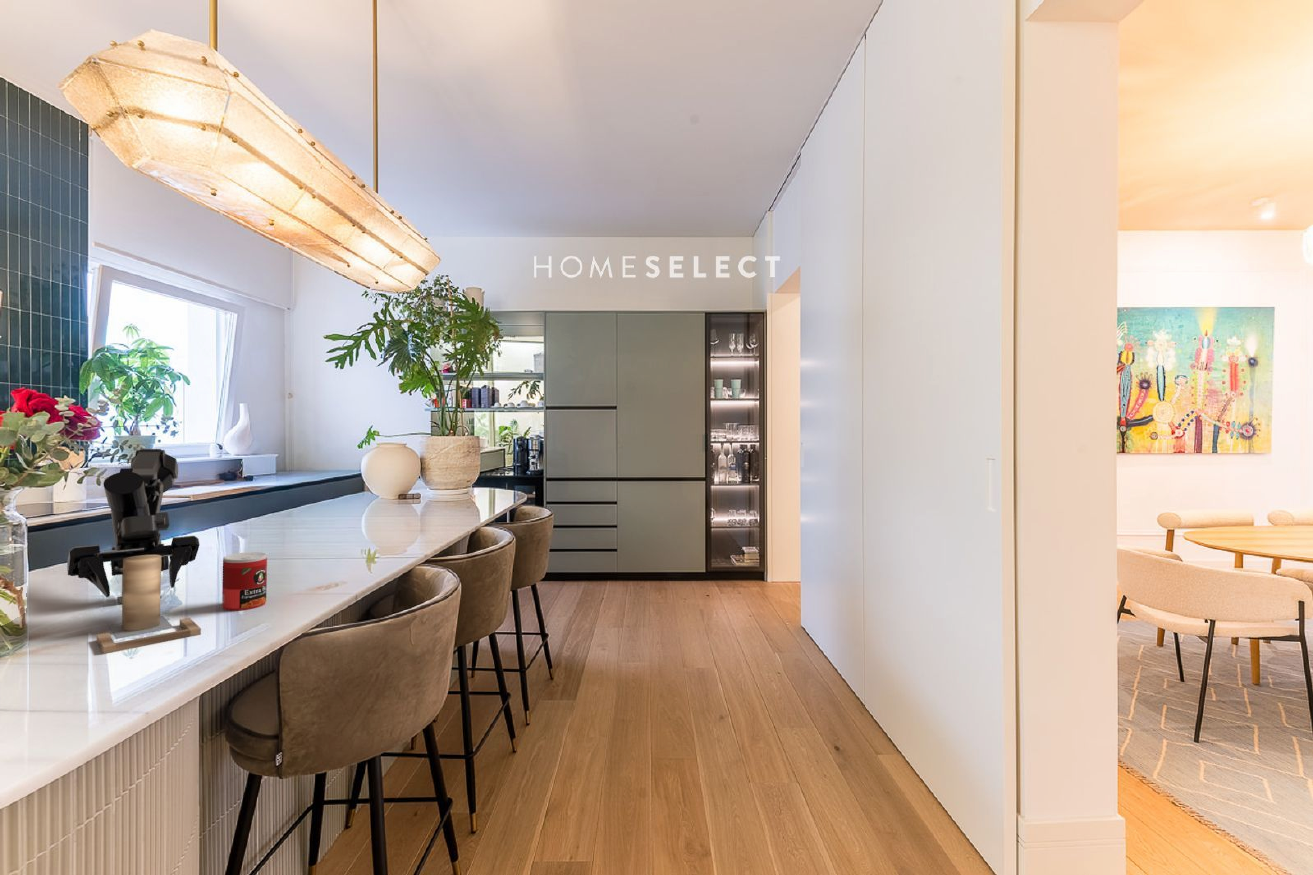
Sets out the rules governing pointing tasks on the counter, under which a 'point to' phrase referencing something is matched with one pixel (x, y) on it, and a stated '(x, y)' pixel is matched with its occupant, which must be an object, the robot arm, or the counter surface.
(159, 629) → the slate mat
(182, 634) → the walnut frame
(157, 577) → the pepper mill
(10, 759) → the counter surface
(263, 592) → the canned food
